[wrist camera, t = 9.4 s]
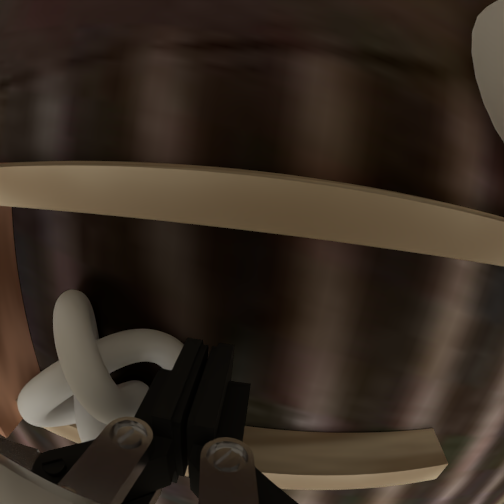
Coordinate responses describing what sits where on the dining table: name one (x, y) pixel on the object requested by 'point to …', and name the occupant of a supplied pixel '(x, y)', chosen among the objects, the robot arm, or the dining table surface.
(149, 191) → the guide channel
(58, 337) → the knot
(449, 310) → the dining table surface
